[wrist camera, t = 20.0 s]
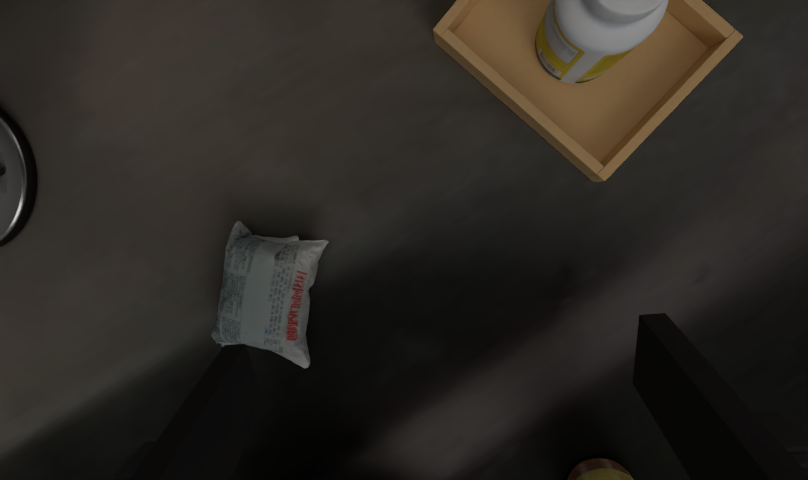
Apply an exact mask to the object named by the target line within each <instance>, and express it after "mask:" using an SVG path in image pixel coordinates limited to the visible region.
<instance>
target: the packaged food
mask: <svg viewBox="0 0 808 480" xmlns="http://www.w3.org/2000/svg"><path fill="white" fill-rule="evenodd" d="M328 242H329V241H327V240H318V241H309V240H307V241H300V240H299V237H298V236H291V237H288V238H281V237H261V236H259V235H252V234H251V232H250V231H249V230H248V229H247V227H246V226H245V225H243V224H242V222H240V221H235V223H234V225H233V229H232V231H231V234H230V237H229V239H228V242H227V245H226V249H225V260H224V271H223V279H222V288H221V292H220V297H219V304H218V312H217V319H216V322H215V324H214V327H213V330H212V333H211V336H212V338H213V339H214V340H215V341H216V344H217V343H220V344H221V346H223V347H224V345H233V344H246V345H249V346H254V347H257V348H261V349H267V350H271V351H273V352H275V353H277V354H279V355H281V356H283V357H285V358H287V359H289V360H291V361H292V362H293V363H295V364H298V365H300V366H301V367H303V368H308V367H309V364H310V357H309V352H308V347H307V340H306V329H307V322H308V315H309V305H310V295H309V291H308V290H309V288H310V287H311V286H312V285H313V284H314V281H315V277H316V273H317V269H318V264H319V259H320V257H321V254H322V252H323V250H324V249H325V247H326V246H327V244H328Z"/></svg>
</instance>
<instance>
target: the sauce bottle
mask: <svg viewBox="0 0 808 480" xmlns="http://www.w3.org/2000/svg"><path fill="white" fill-rule="evenodd" d="M567 480H634V479H633V478H632V476H631V475H630V474H629V472H628V471H627V470H626V469H624V468H623V467H622V466H621V465H620V464H619V463H617V462H615V461H612V460H610V459H603V458H592V459H589V460H585V461H582V462H580V463H579V464H578V465H576V466H575V467H574V468H573V469H572V471H571V472H570V474H569V476H568V479H567Z"/></svg>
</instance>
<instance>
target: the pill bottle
mask: <svg viewBox="0 0 808 480" xmlns="http://www.w3.org/2000/svg"><path fill="white" fill-rule="evenodd" d="M668 1H669V0H551V1H550V3H549V5H548V7H547V9H546V11H545V13H544V16H543V18H542V20H541V22H540V24H539V27H538V29H537V33H536V38H535V51H536V55H537V58H538V61H539V63H540V65H541V66H542V68H543V69H544V70H545V71H546V72H547V73H548V74H549V75H550V76H551V77H553V78H554V79H556V80H558V81H561V82H564V83H572V84H578V83H584V82H588V81H591V80H593V79H595V78H597V77H599V76H600V75H602V74H603V73H605V72H606V71H607V70H608V69H609V68H611V67H612V66H613V65H615V64H616V63H617V62H618V61H619V60H621V59H622V58H623V57H624V56H626V55H627V54H628V53H629V52H631V51H632V50H633V49H634V48H635V47H637V46H638V45H639V44H640V43H642V42H643V41H644V40H645V39H646V38H647V37H648V36H649V35H650V34H651V33H652V32H653V31H654V30H655V28H656V27H657V26H658V24H659V23H660V21H661V20H662V18H663V16H664V13H665V11H666V8H667V5H668Z"/></svg>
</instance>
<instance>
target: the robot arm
mask: <svg viewBox="0 0 808 480" xmlns="http://www.w3.org/2000/svg"><path fill="white" fill-rule="evenodd" d="M36 186H37V180H36V169H35V164H34V159H33V156H32V153H31V150H30V147H29V145H28V143H27V141H26V139H25V137H24V135H23V134H22V132H21V130H20V129H19V128H18V126H17V125H16V124H15V123H14V121H13V120H12V119H11V118H10V117H9V116H8V115H7V114H6V113H5V112H3V111H2V110H1V109H0V246H2V245H4V244H6V243H7V242H9V241H10V240H12V239H13V238H14V237H15V236H16V235H17V234H18V233H19V232H20V231H21V230H22V228H23V227H24V225H25V224H26V222H27V221H28V218H29V216H30V214H31V212H32V209H33V206H34V202H35V196H36ZM633 385H634V386H635V388H636V390H637V391H638V393H639V395H640V396H641V398H642V399H643V401H644V403H645V404H646V406H647V408H648V409H649V411H650V413H651V414H652V416H653V418H654V419H655V421H656V423H657V424H658V426H659V428H660V429H661V431H662V433H663V434H664V436H665V438H666V439H667V441H668V443H669V444H670V446H671V447H672V449H673V451H674V452H675V454H676V456H677V457H678V459H679V461H680V462H681V464H682V466H683V467H684V469H685V471H686V472H687V474H688V476H689V477H690V479H691V480H808V435H807V434H806V433H805V432H804V431H803V430H802V429H801V428H800V427H799V426H797V425H795V424H794V423H792V422H791V421H789V420H788V419H786V418H785V417H783V416H781V415H780V414H778V413H777V412H775V411H768V412H753V411H752V410H751V409H750V408H749V407H748V406H747V405H746V404H745V402H744V401H743V400H742V399H741V398H740V397H739V396H738V395H737V393H736V392H735V391H734V390H733V389H732V388H731V387H730V386H729V384H728V383H727V382H726V381H725V380H724V379H723V378H722V377H721V375H720V374H719V373H718V372H717V371H716V370H715V369H714V368H713V366H712V365H711V364H710V363H709V362H708V361H707V360H706V359H705V357H704V356H703V355H702V354H701V353H700V352H699V351H698V350H697V349H696V347H695V346H694V345H693V344H692V343H691V342H690V341H689V340H688V338H687V337H686V336H685V335H684V334H683V333H682V332H681V331H680V329H679V328H678V327H677V326H676V325H675V324H674V323H673V322H672V320H671V319H670V318H669V317H668V316H667V315H666V314H665V313H661V314H647V315H639V325H638V335H637V345H636V355H635V365H634V375H633ZM264 406H265V401H264V398H263V395H262V392H261V389H260V386H259V383H258V380H257V377H256V374H255V371H254V368H253V365H252V362H251V359H250V356H249V353H248V350H247V347H246V344H233V345H224V347H223V348H222V349H221V351H220V352H219V354H218V355H217V356H216V358H215V359H214V361H213V362H212V363H211V365H210V366H209V368H208V369H207V370H206V372H205V373H204V375H203V376H202V378H201V379H200V380H199V382H198V383H197V385H196V386H195V387H194V389H193V390H192V392H191V393H190V394H189V396H188V397H187V399H186V400H185V401H184V403H183V404H182V406H181V407H180V408H179V410H178V411H177V413H176V414H175V415H174V417H173V418H172V420H171V421H170V422H169V424H168V425H167V427H166V428H165V430H164V431H163V432H162V434H161V435H160V437H159V438H158V439H157V441H156V442H145V443H144V444H143V445H142V446H141V447H140V448H139V449H137V450H136V451H135V452H134V453H133V454H132V455H130V456H129V457H128V458H127V459H126V461H125V462H124V463H123V465H122V466H121V467H120V469H119V470H118V471H117V473H116V474H115V475H114V479H111V480H229V479H230V477H231V475H232V473H233V471H234V469H235V467H236V465H237V463H238V460H239V458H240V456H241V454H242V452H243V450H244V448H245V446H246V444H247V442H248V439H249V437H250V435H251V433H252V431H253V429H254V427H255V425H256V423H257V421H258V418H259V416H260V414H261V412H262V410H263V408H264Z"/></svg>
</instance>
